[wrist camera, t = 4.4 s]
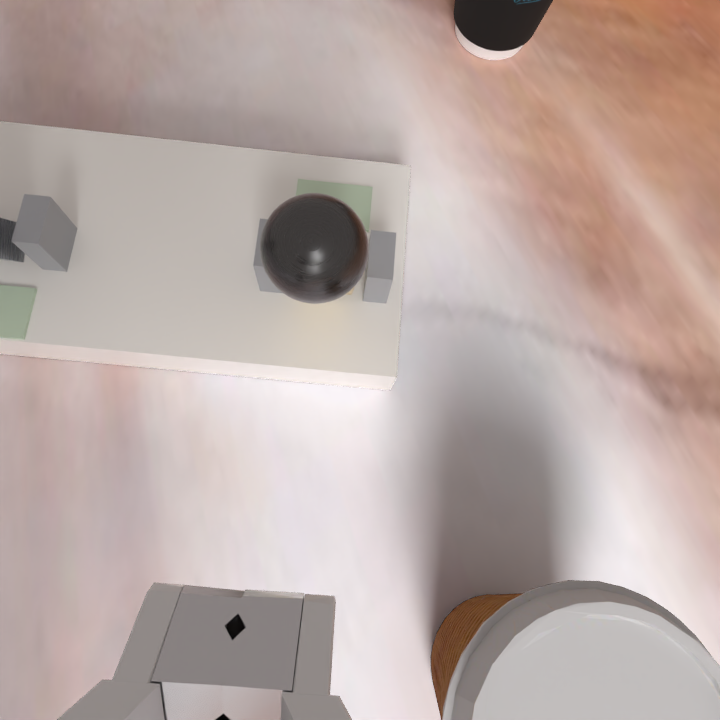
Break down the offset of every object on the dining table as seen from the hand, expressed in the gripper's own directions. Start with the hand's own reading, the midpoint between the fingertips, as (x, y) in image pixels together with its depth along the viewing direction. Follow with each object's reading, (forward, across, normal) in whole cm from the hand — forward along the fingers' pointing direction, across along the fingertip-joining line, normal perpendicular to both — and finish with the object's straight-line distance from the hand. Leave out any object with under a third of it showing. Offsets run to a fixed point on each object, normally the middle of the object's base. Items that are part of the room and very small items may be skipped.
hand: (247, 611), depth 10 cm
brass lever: (+22, 0, +2) cm, 22 cm away
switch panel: (+24, +8, +4) cm, 26 cm away
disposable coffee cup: (+11, -10, +18) cm, 23 cm away
